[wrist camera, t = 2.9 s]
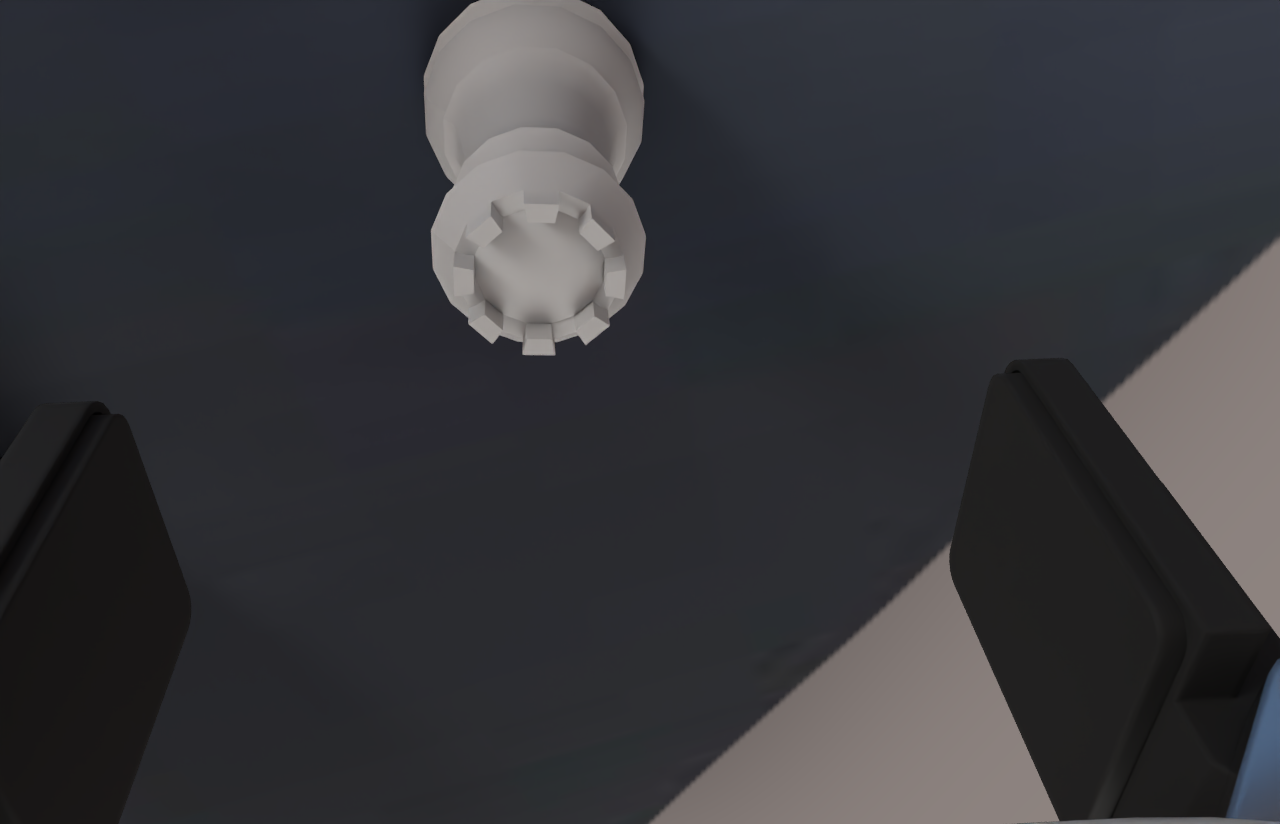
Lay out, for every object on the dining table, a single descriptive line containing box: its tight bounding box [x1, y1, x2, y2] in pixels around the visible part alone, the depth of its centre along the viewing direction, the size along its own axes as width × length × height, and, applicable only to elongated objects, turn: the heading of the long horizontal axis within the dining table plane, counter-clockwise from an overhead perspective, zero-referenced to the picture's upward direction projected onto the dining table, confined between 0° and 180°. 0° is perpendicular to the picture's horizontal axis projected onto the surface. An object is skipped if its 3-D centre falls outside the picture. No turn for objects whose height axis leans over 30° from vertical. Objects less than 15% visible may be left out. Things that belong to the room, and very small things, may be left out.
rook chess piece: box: [424, 0, 646, 355], centre depth 18 cm, size 4×4×8 cm
